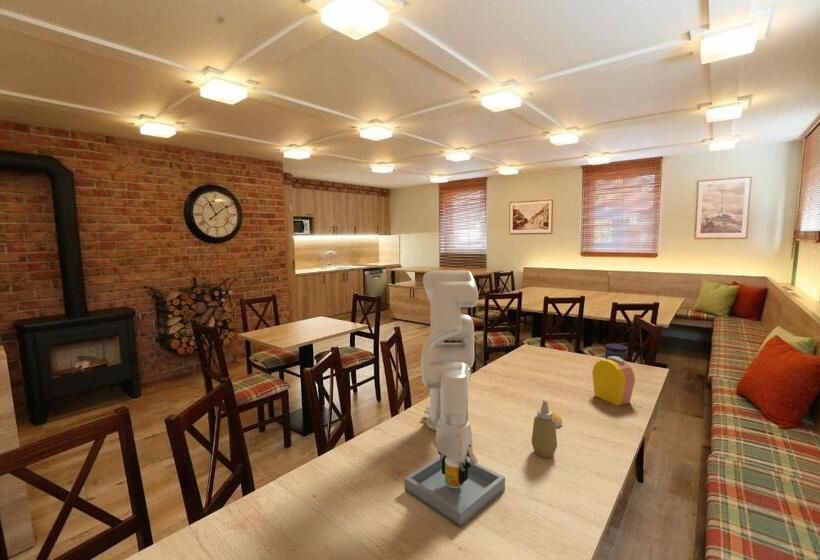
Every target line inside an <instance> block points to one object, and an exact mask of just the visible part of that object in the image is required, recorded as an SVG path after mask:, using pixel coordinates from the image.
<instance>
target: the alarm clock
mask: <svg viewBox="0 0 820 560" xmlns="http://www.w3.org/2000/svg"><path fill="white" fill-rule="evenodd" d="M634 372H635V371H634V370H633V368H632V367H631V365H630V364H629V363H628V362H627V360H626V361H624V360H623V359H621V358H620V357H616V356H611V357H607V359H606V358H605V359H601V360H599V361H597V362H596V363H595V364H594V365H593V367H592V382H593V383H592V384H593V391H594V392H593V393H594V396H595V397H597V398H599V399H602V400H604V401H606V402H608V403H610V404H612V405H614V406H620V405H626V404H629V403H631V398H632V395H633V390H634V387H635V383H636V376H635V373H634Z"/></svg>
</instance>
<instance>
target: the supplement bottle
mask: <svg viewBox="0 0 820 560" xmlns="http://www.w3.org/2000/svg"><path fill="white" fill-rule="evenodd" d="M463 463H464V462H463ZM459 470H460V465H459V462H457V461H455V460H453V459H451V458H449V457H447V456H446V458H445V483H446V485H447V486H449V487H451V488H460V487H462V486H463V484H464V482H463V483H462V484H460V483H459Z"/></svg>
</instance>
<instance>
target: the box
mask: <svg viewBox="0 0 820 560" xmlns="http://www.w3.org/2000/svg"><path fill="white" fill-rule="evenodd" d="M468 459H469V458H468ZM469 461H470V459H469ZM464 465H465V461H464ZM405 491H406V493H407V494H408V493H409V495H410V496H412V497H413V498H414V499H416V500H417V501H418V502H419V501H420V503H422V504H424V505H425V506H427V507H428V508H430V509H431V510H432V511H434V512H435V513H437V514H439V515H440V516H441V517H443V518H444V519H446V520H448V521H449V522H450V523H452V524H453V525H455V526H457V528H459V529H461V528H463V527H464V526H466V525H467V524H468V522H470V521H471V520H472V519H473V518H474V517H476V516H477V515H478V514H479V513H480V512H482V511H483V510H484V509H485V508H486V507H487V506H488V505H489V504H491V503H492V502H493V501H494V500H495V499H497V498H498V497H499V496H500V495H501V494H503V492H504V493H505V491H506V477H505V476H504V475H502V474H500V473H498V472H496V471H494V470H492V469H489V468H487V467H486V466H484V465H481V464H479V462H478V463H476V464H475V465H473V466H471V467H469V468H468V479H467V480H466V481H465V482H464V484H463V486H462V487H460V488H451V487H449V486H447V485H446V483H445V474H442V460H441V459H440V456H438V457H437V458H435V459H433V460H432V461H430V462H427V463H426V464H425V465H424V466H422V467H420V468H419V469H417V470H416V471H414V472H412V473H410V474H408V475H407V476H405V477H404V492H405Z"/></svg>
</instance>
